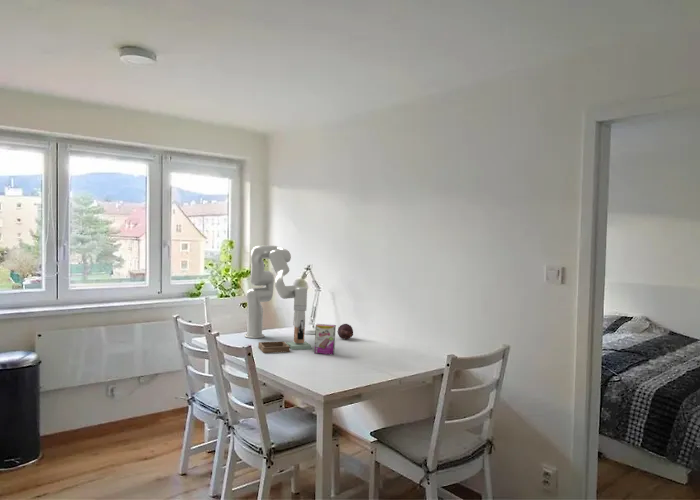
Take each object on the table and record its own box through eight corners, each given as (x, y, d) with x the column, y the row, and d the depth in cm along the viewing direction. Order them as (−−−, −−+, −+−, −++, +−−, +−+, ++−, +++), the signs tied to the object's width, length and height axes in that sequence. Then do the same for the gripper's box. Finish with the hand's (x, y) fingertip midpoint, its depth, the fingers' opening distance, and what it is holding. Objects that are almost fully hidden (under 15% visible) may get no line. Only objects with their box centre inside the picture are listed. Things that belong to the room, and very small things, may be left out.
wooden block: (293, 341, 313) (294, 324, 313) (301, 341, 315) (302, 324, 315) (295, 343, 308) (296, 326, 308) (304, 342, 310) (304, 326, 310)
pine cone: (333, 336, 349) (334, 321, 348) (347, 336, 352) (348, 321, 352) (342, 341, 332) (342, 326, 332) (356, 341, 335) (357, 325, 335)
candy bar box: (314, 353, 295) (315, 324, 295) (315, 351, 300) (316, 323, 300) (333, 355, 294) (334, 325, 294) (334, 353, 299) (335, 324, 299)
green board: (286, 345, 315) (286, 342, 315) (305, 344, 319) (305, 341, 319) (291, 349, 304) (291, 346, 304) (311, 348, 308) (311, 345, 308)
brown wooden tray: (258, 347, 307) (258, 342, 307) (283, 346, 312) (283, 341, 312) (263, 353, 293) (263, 347, 293) (289, 351, 298) (289, 346, 298)
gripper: (290, 306, 318) (289, 335, 318) (297, 310, 302) (296, 341, 302) (302, 305, 320) (301, 335, 321) (310, 309, 304) (309, 341, 305)
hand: (299, 338), depth 312 cm, fingers closed on wooden block, 4 cm apart
